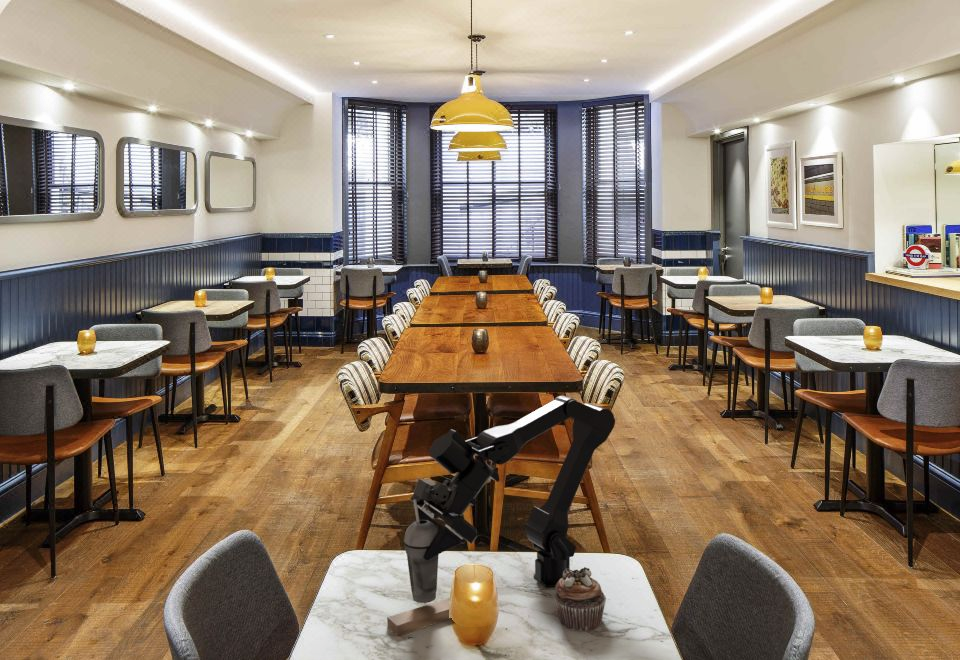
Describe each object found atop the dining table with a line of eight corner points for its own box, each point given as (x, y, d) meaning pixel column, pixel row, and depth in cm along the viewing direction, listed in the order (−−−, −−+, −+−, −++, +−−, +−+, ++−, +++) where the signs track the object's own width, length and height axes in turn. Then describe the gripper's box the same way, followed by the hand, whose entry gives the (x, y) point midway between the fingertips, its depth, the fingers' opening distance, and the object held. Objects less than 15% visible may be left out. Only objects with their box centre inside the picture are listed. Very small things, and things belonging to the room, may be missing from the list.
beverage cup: (445, 604, 159) (442, 503, 157) (407, 608, 158) (403, 507, 155) (440, 587, 166) (437, 491, 164) (403, 591, 165) (399, 494, 162)
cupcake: (564, 636, 154) (563, 584, 153) (549, 611, 163) (549, 563, 162) (613, 630, 156) (613, 579, 154) (596, 606, 165) (596, 558, 164)
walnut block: (459, 604, 167) (458, 594, 167) (469, 612, 164) (469, 602, 163) (387, 627, 158) (387, 617, 158) (397, 635, 155) (397, 625, 155)
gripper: (417, 451, 168) (368, 515, 165) (461, 476, 152) (408, 547, 149) (453, 482, 173) (406, 544, 170) (499, 508, 157) (449, 578, 154)
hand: (416, 552), depth 160 cm, fingers closed on beverage cup, 7 cm apart
